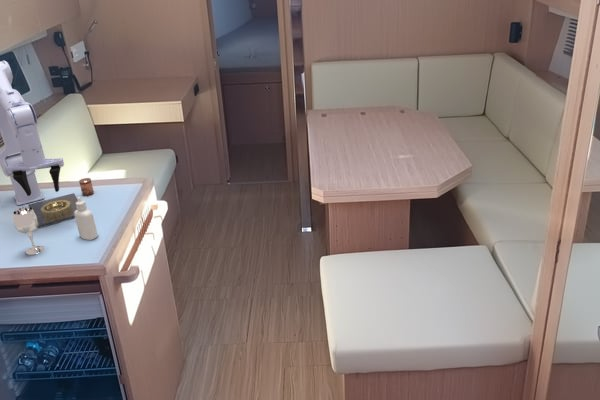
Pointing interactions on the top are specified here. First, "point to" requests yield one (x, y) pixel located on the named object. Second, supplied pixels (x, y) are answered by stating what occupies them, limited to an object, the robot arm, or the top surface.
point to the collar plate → (55, 209)
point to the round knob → (86, 187)
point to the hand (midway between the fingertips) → (43, 192)
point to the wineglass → (27, 226)
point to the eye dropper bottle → (85, 221)
